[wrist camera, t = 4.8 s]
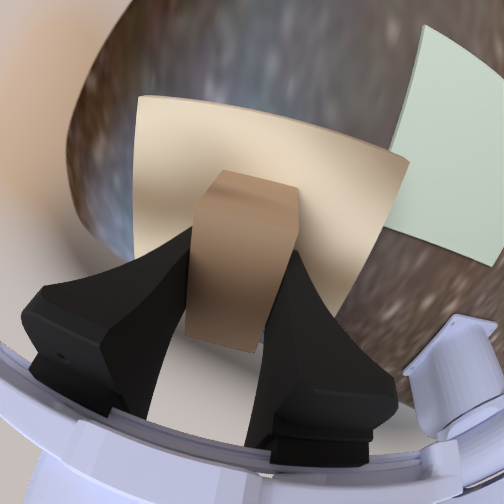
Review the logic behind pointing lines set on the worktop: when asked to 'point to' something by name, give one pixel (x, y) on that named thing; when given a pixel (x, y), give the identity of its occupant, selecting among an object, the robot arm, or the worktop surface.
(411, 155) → the mat
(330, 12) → the worktop surface
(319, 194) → the lid
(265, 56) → the worktop surface
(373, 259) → the worktop surface
